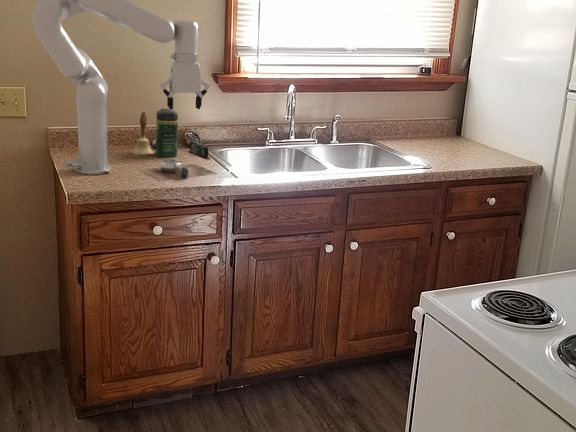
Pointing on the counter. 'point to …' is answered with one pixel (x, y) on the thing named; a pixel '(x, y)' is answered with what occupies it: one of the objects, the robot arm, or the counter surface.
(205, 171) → the level board
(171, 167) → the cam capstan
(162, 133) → the coffee jar
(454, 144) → the counter surface
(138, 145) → the hand bell
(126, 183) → the counter surface
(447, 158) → the counter surface
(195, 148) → the dark green box
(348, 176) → the counter surface
